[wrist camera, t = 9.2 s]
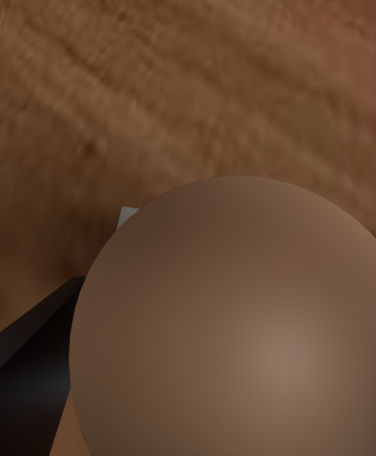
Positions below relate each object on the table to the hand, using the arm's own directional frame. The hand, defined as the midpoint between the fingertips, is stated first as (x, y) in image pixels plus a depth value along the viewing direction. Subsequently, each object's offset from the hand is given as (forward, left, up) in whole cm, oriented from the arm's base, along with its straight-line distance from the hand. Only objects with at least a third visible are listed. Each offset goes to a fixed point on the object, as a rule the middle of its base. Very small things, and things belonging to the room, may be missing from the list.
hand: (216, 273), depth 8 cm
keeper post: (-1, -1, -8) cm, 8 cm away
